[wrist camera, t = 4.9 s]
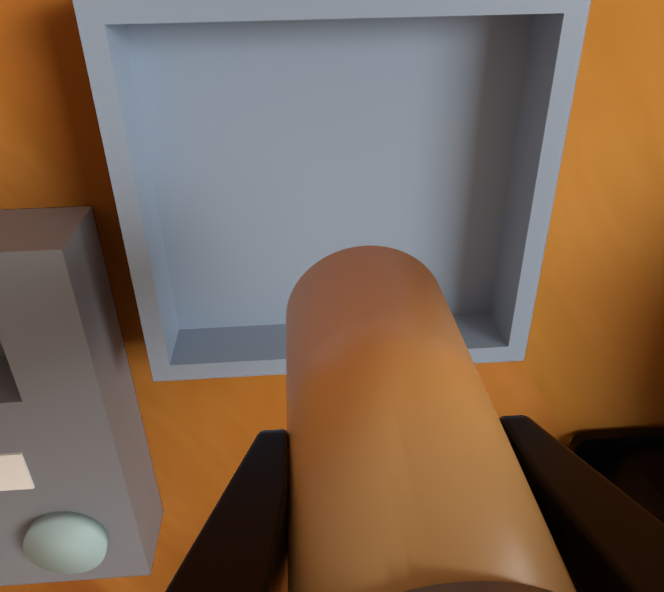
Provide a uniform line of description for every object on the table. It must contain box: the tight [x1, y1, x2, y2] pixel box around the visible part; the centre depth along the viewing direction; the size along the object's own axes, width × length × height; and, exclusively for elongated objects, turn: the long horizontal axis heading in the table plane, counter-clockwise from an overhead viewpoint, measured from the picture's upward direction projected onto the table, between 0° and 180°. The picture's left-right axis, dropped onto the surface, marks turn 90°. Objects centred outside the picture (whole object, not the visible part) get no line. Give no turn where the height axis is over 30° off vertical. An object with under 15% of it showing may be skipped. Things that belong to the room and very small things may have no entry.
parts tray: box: [72, 0, 591, 382], centre depth 18 cm, size 12×11×2 cm
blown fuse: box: [286, 245, 577, 592], centre depth 9 cm, size 3×3×8 cm
